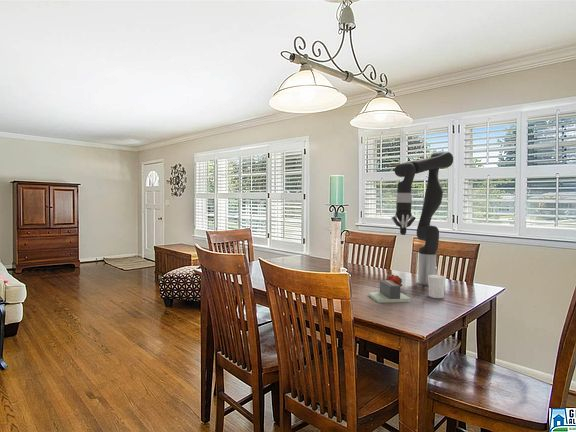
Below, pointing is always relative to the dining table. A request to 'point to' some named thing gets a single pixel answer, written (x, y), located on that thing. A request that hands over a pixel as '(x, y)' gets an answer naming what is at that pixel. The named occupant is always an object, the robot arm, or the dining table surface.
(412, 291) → the dining table surface
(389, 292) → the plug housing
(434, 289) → the white cup
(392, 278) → the dragon fruit
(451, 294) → the dining table surface
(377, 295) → the board
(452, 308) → the dining table surface
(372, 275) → the dining table surface
